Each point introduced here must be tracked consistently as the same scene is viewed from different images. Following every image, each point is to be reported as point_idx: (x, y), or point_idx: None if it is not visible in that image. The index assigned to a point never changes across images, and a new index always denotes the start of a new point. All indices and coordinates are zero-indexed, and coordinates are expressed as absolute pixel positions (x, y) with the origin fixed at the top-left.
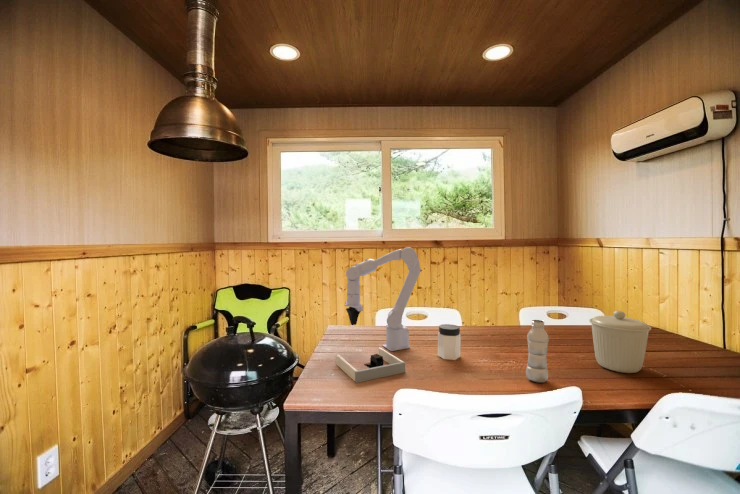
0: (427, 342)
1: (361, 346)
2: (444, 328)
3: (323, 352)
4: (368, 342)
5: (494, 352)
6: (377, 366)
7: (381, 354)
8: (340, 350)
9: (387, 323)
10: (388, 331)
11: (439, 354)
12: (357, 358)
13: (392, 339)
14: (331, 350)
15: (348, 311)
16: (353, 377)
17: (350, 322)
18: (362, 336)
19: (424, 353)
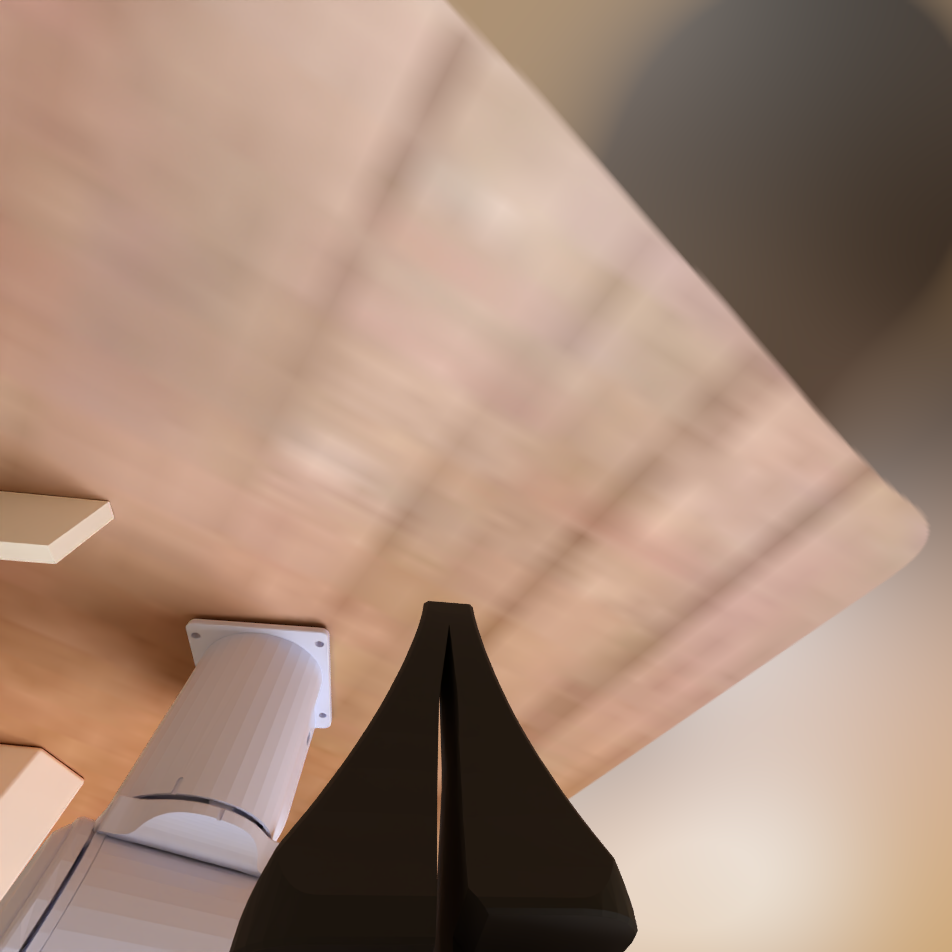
0: None
1: (399, 517)
2: None
3: (434, 76)
4: (456, 597)
5: None
6: None
7: (20, 514)
8: (396, 307)
9: (49, 863)
10: (170, 762)
11: (6, 758)
12: (103, 330)
13: (175, 706)
14: (447, 216)
15: (462, 838)
16: None
17: (467, 622)
18: (604, 628)
19: (98, 722)
